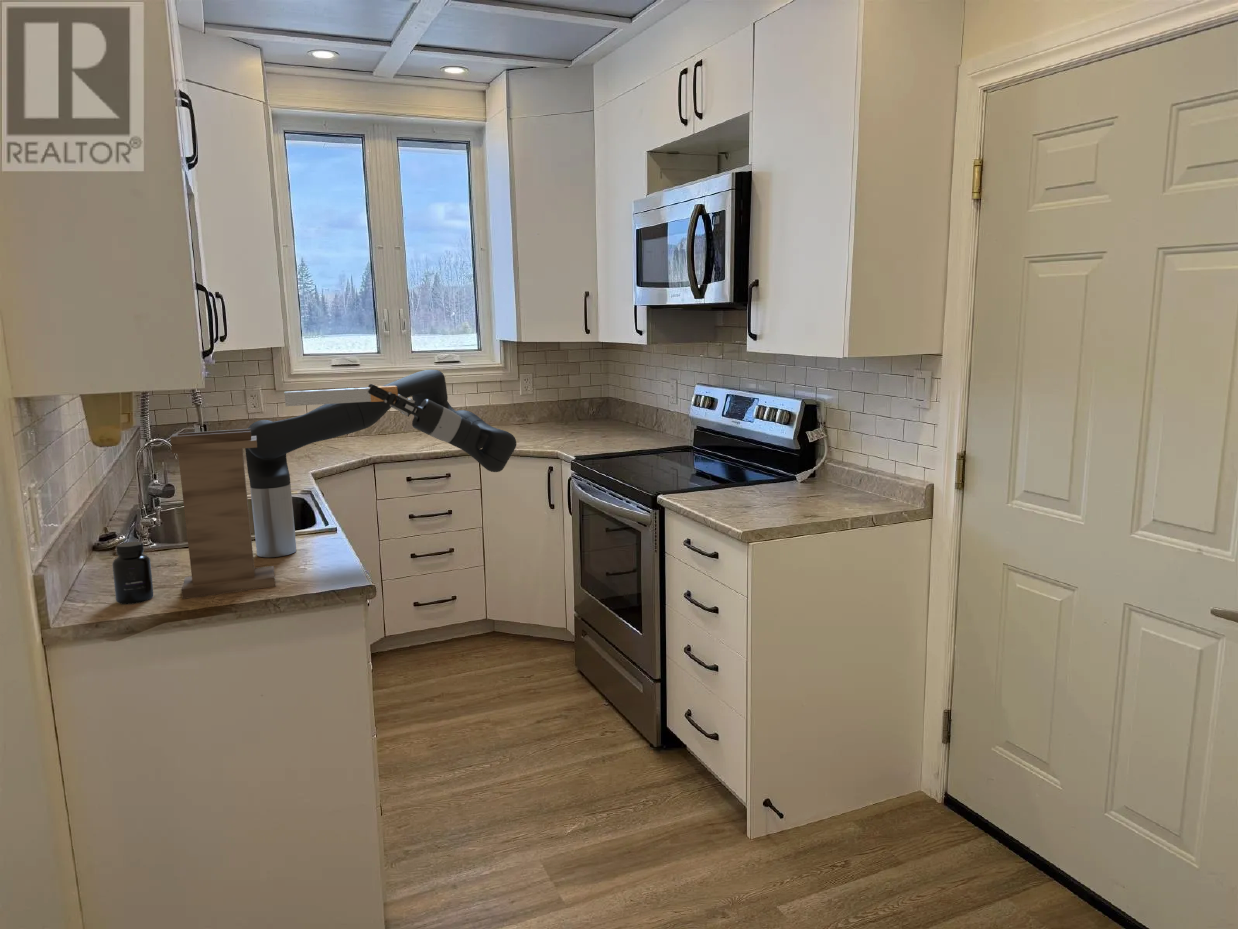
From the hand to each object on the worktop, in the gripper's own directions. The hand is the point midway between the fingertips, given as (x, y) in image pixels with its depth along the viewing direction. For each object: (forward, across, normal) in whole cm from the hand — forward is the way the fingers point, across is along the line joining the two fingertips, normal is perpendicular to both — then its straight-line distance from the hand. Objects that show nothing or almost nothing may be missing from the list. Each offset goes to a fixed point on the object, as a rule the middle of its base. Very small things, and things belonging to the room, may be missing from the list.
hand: (369, 388), depth 189 cm
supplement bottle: (+23, -3, -61) cm, 66 cm away
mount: (+8, -2, -52) cm, 53 cm away
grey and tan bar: (+4, 0, -6) cm, 7 cm away
